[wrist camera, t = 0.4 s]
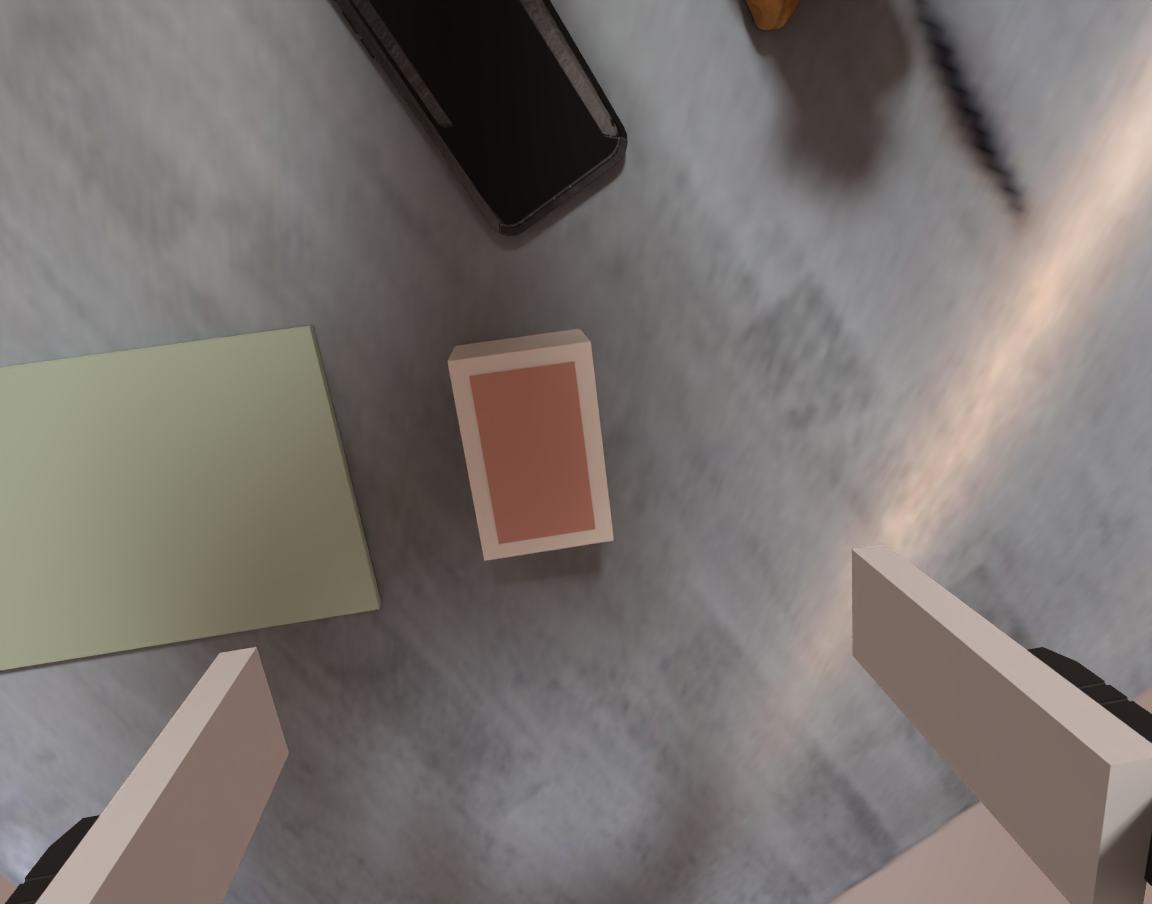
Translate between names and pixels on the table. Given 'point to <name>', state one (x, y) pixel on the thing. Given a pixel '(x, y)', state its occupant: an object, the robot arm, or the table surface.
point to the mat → (173, 498)
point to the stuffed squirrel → (771, 12)
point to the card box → (532, 442)
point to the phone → (497, 98)
